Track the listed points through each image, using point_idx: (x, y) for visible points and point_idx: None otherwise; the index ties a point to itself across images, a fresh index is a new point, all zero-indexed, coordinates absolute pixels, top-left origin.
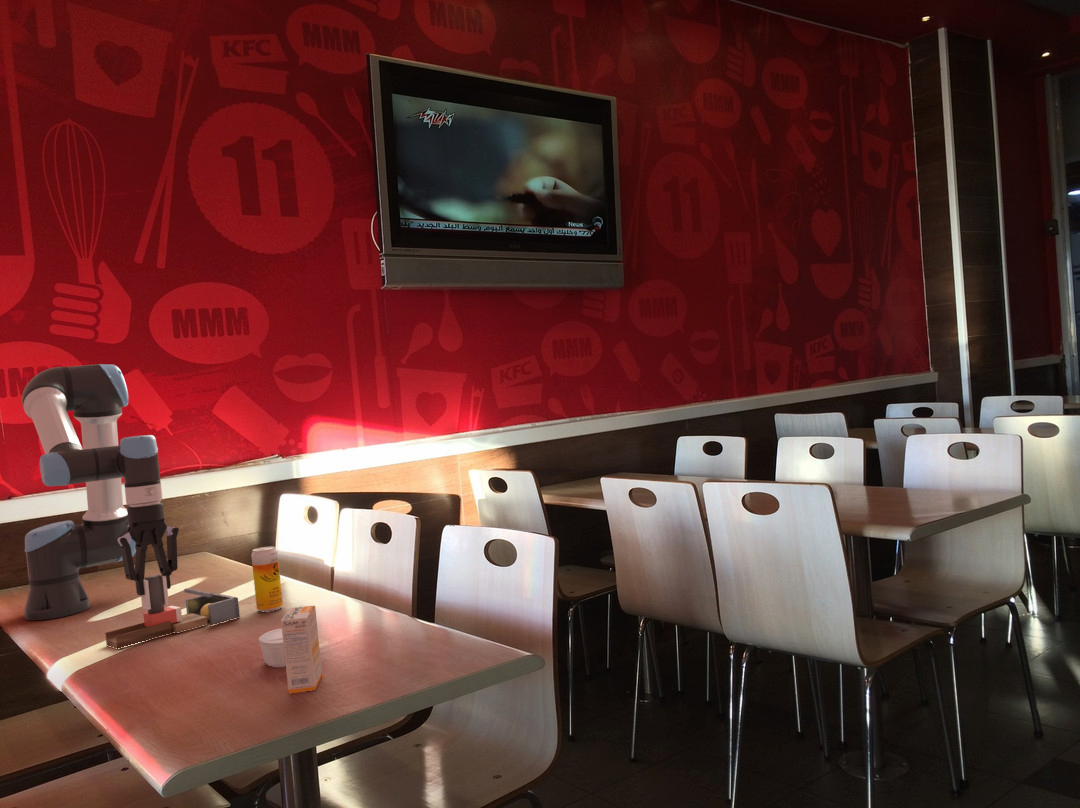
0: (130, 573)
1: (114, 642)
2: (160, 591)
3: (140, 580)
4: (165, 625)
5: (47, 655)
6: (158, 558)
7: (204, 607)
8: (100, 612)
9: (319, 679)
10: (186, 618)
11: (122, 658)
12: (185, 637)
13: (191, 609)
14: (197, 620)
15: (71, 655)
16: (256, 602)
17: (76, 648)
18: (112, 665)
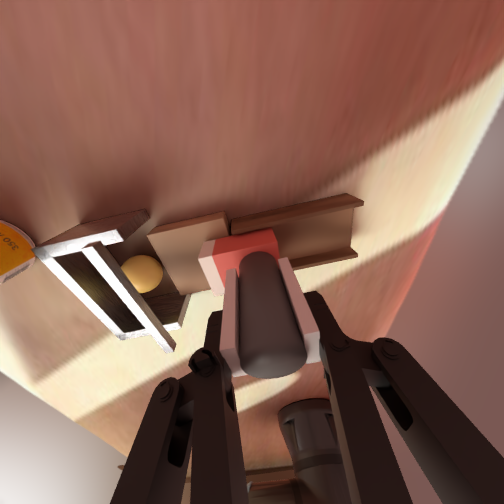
0: (423, 377)
1: (352, 211)
2: (248, 294)
3: (340, 335)
4: (244, 225)
5: (415, 268)
6: (240, 492)
7: (145, 277)
8: (277, 394)
9: None
10: (192, 261)
11: (379, 90)
12: (211, 161)
13: (177, 306)
14: (170, 229)
15: (402, 234)
16: (14, 255)
17: (373, 271)
18: (433, 22)
